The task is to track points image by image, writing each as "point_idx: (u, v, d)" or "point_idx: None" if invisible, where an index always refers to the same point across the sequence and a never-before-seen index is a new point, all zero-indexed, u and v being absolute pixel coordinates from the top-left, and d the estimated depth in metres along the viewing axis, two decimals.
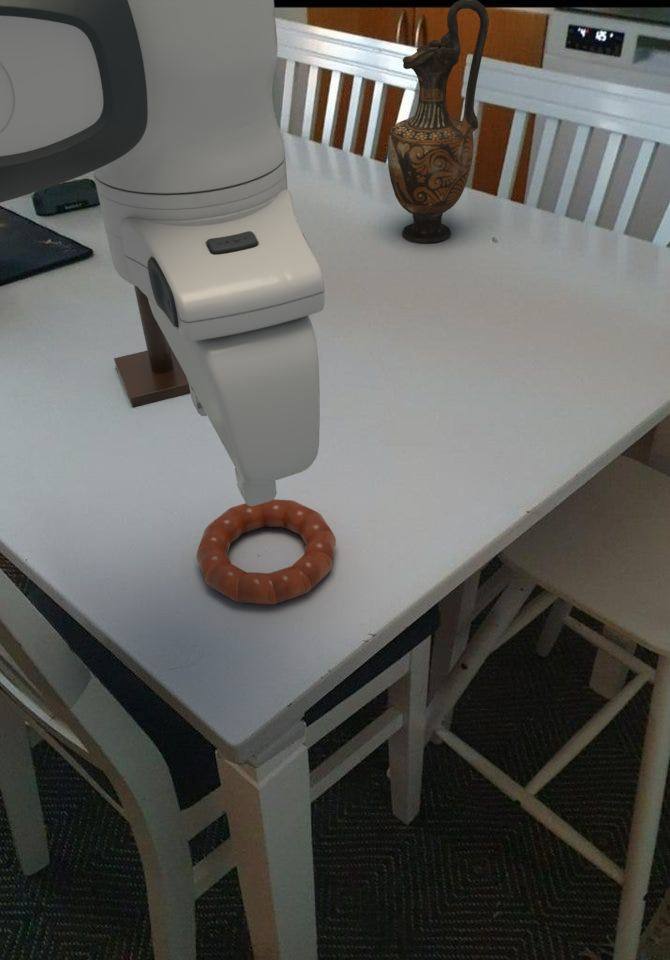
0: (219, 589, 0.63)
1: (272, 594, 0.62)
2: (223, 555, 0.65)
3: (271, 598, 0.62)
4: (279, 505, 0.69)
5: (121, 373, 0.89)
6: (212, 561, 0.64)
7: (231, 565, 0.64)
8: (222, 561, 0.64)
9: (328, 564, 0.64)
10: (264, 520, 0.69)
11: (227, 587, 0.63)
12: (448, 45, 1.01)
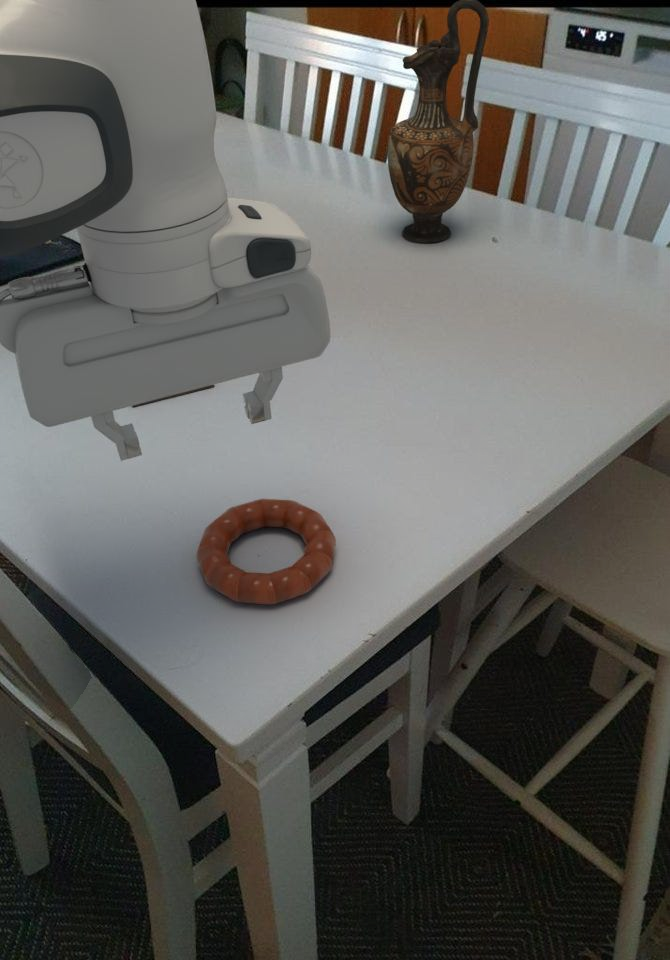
0: (219, 589, 0.63)
1: (272, 594, 0.62)
2: (223, 555, 0.65)
3: (271, 598, 0.62)
4: (279, 505, 0.69)
5: None
6: (212, 561, 0.64)
7: (231, 565, 0.64)
8: (222, 561, 0.64)
9: (328, 564, 0.64)
10: (264, 520, 0.69)
11: (227, 587, 0.63)
12: (448, 45, 1.01)
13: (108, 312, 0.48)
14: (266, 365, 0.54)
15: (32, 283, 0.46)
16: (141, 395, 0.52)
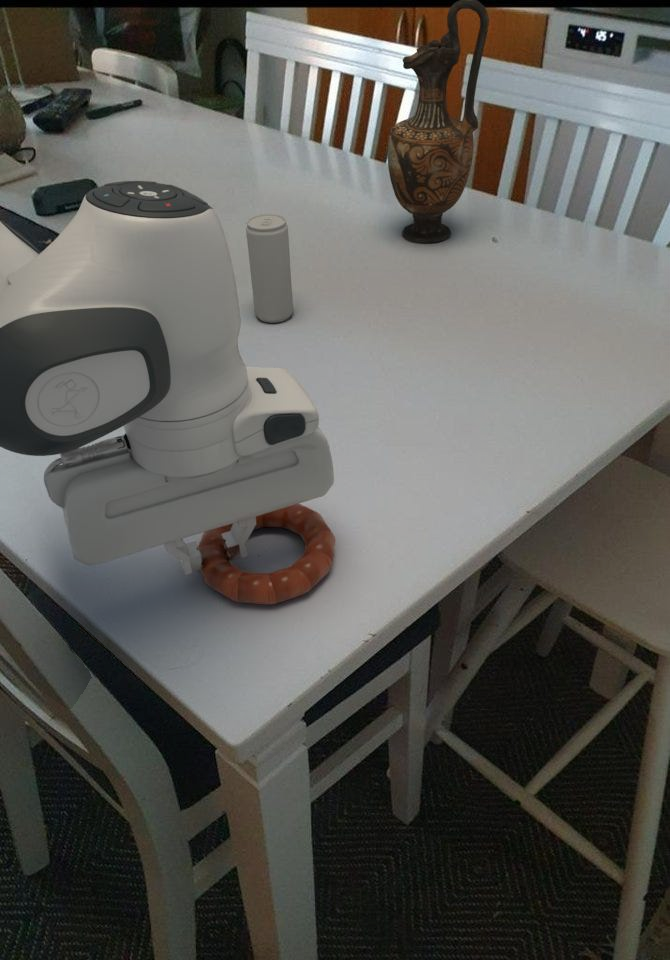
0: (219, 589, 0.63)
1: (272, 594, 0.62)
2: (223, 555, 0.65)
3: (271, 598, 0.62)
4: None
5: None
6: (212, 561, 0.64)
7: (231, 565, 0.64)
8: (222, 561, 0.64)
9: (327, 564, 0.64)
10: (264, 520, 0.69)
11: (227, 587, 0.63)
12: (448, 45, 1.01)
13: (144, 475, 0.55)
14: (278, 506, 0.62)
15: (81, 453, 0.54)
16: (170, 536, 0.59)
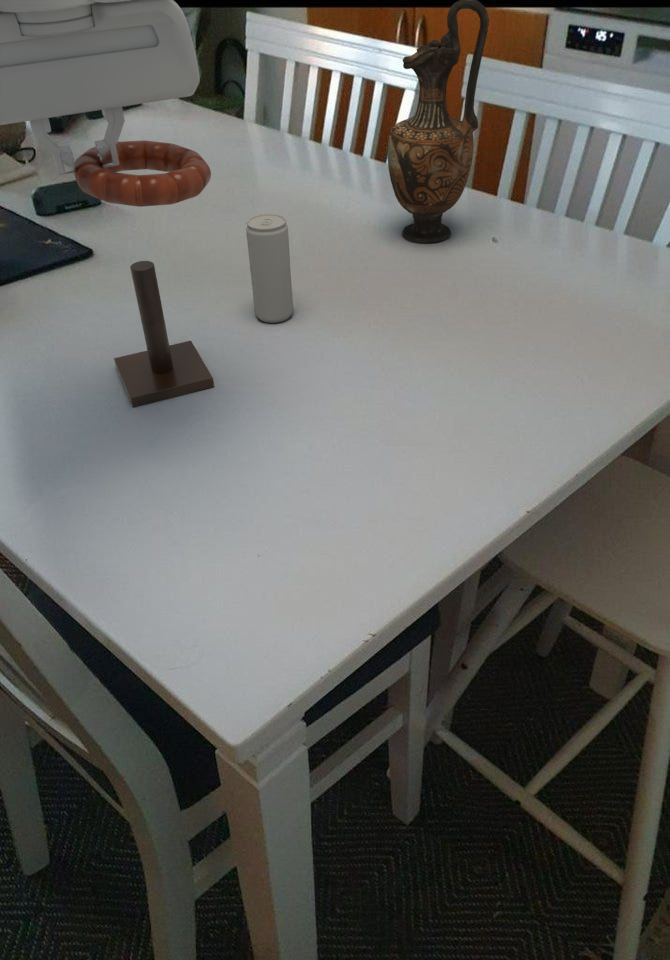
0: (89, 186, 0.65)
1: (138, 189, 0.64)
2: (98, 164, 0.67)
3: (137, 194, 0.65)
4: (161, 144, 0.71)
5: (121, 373, 0.89)
6: (85, 164, 0.66)
7: (103, 168, 0.66)
8: (95, 165, 0.66)
9: (198, 181, 0.67)
10: (146, 158, 0.72)
11: (96, 182, 0.65)
12: (448, 45, 1.01)
13: None
14: (143, 96, 0.64)
15: None
16: (33, 110, 0.61)
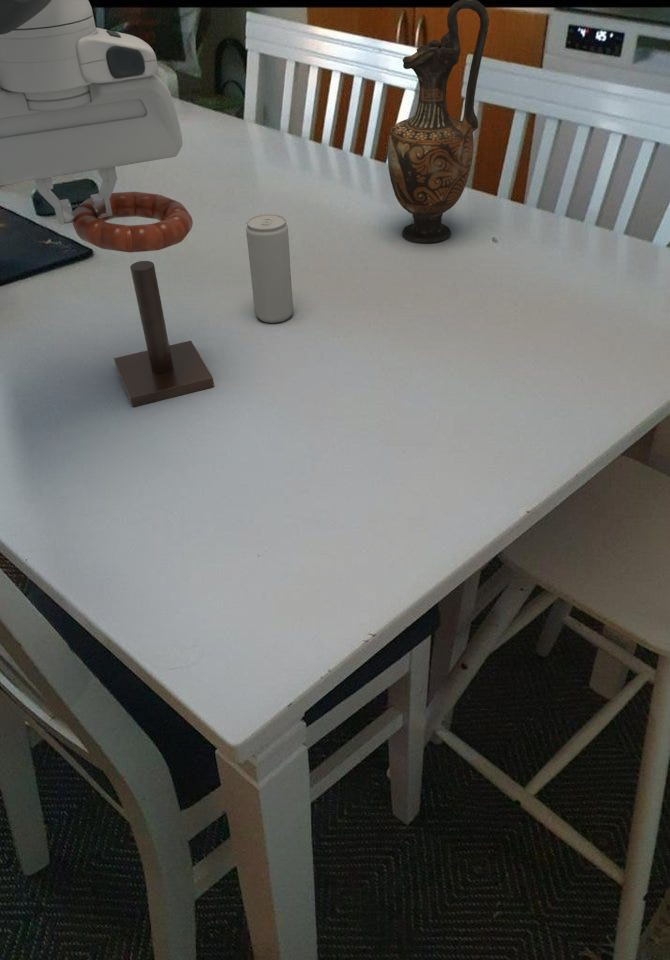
0: (85, 235, 0.75)
1: (129, 238, 0.74)
2: (93, 214, 0.77)
3: (128, 242, 0.74)
4: (149, 195, 0.81)
5: (121, 373, 0.89)
6: (83, 215, 0.76)
7: (98, 219, 0.76)
8: (91, 215, 0.76)
9: (181, 230, 0.77)
10: (135, 207, 0.81)
11: (92, 231, 0.75)
12: (448, 45, 1.01)
13: (9, 99, 0.67)
14: (133, 158, 0.74)
15: None
16: (38, 171, 0.71)
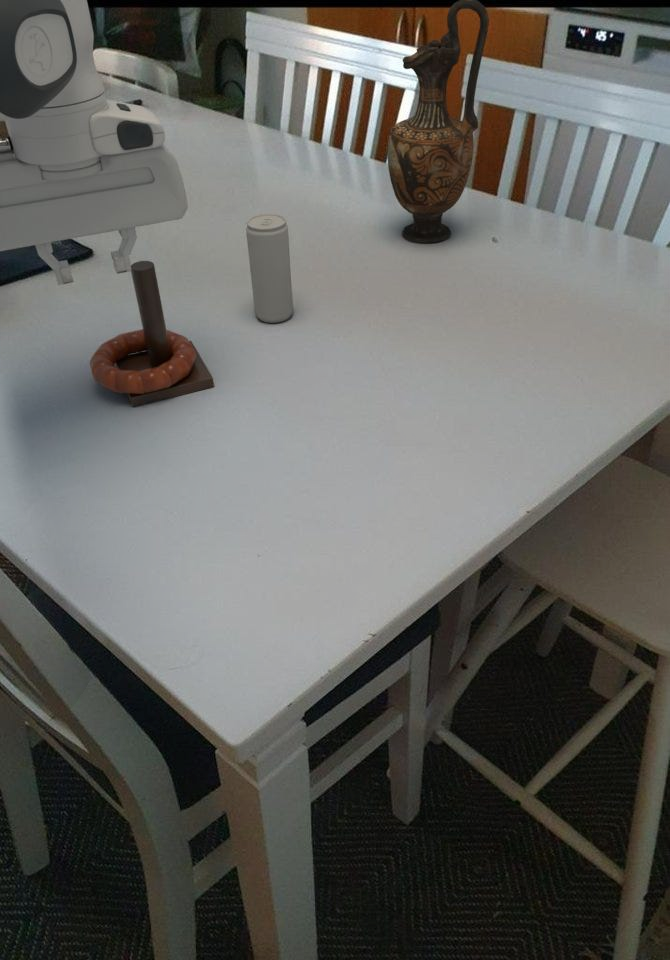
0: (102, 382, 0.85)
1: (140, 383, 0.84)
2: (108, 361, 0.87)
3: (139, 387, 0.84)
4: None
5: None
6: (99, 363, 0.86)
7: (112, 366, 0.86)
8: (106, 363, 0.86)
9: (185, 367, 0.86)
10: (145, 344, 0.91)
11: (107, 379, 0.85)
12: (448, 45, 1.01)
13: (24, 170, 0.71)
14: (140, 221, 0.77)
15: None
16: (50, 235, 0.75)
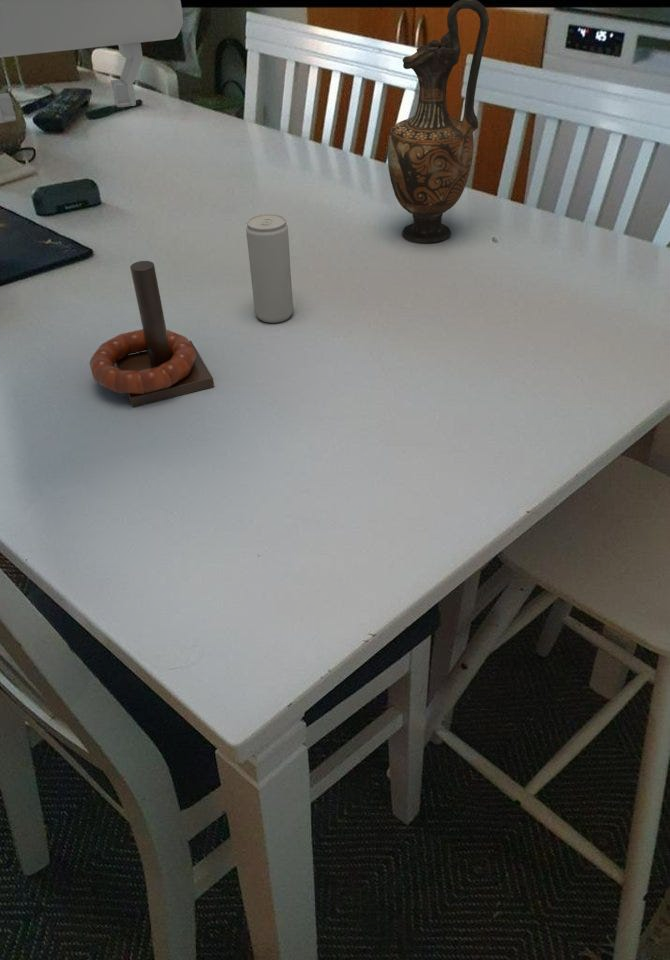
0: (102, 382, 0.85)
1: (140, 383, 0.84)
2: (108, 361, 0.87)
3: (139, 387, 0.84)
4: None
5: None
6: (99, 363, 0.86)
7: (112, 366, 0.86)
8: (106, 363, 0.86)
9: (185, 367, 0.86)
10: (145, 344, 0.91)
11: (107, 379, 0.85)
12: (448, 45, 1.01)
13: None
14: (124, 36, 0.62)
15: None
16: (9, 45, 0.59)
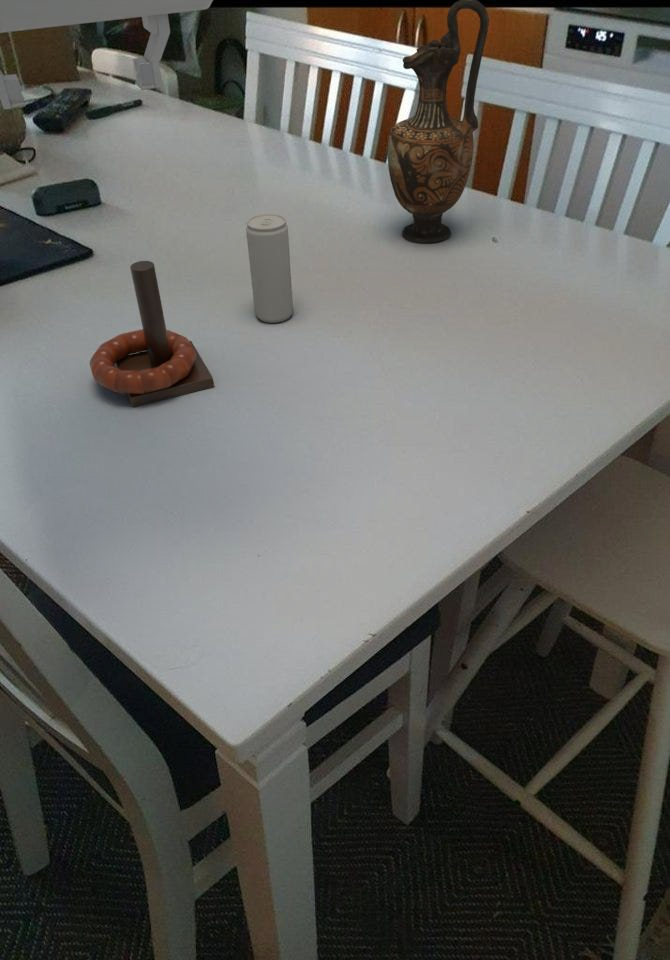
0: (102, 382, 0.85)
1: (140, 383, 0.84)
2: (108, 361, 0.87)
3: (139, 387, 0.84)
4: None
5: None
6: (99, 363, 0.86)
7: (112, 366, 0.86)
8: (106, 363, 0.86)
9: (185, 367, 0.86)
10: (145, 344, 0.91)
11: (107, 379, 0.85)
12: (448, 45, 1.01)
13: None
14: (149, 6, 0.53)
15: None
16: (17, 17, 0.51)
